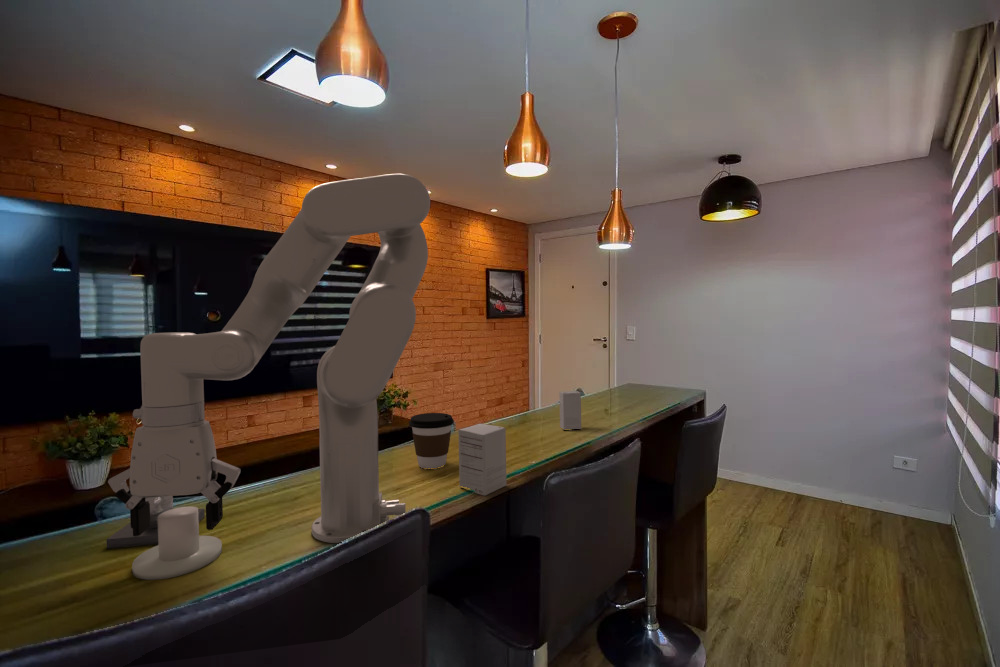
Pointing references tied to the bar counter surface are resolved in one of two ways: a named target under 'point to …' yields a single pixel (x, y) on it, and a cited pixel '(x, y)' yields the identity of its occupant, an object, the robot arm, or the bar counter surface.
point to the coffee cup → (431, 438)
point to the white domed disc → (176, 561)
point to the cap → (178, 533)
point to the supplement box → (482, 458)
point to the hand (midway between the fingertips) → (178, 529)
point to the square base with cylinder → (151, 534)
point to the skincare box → (570, 410)
